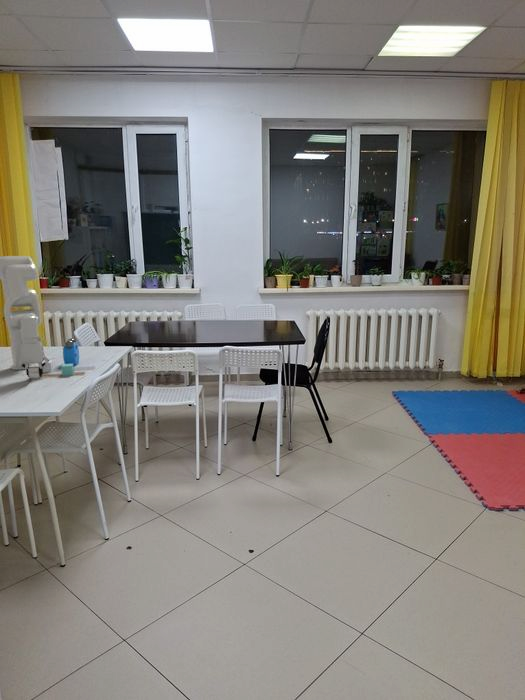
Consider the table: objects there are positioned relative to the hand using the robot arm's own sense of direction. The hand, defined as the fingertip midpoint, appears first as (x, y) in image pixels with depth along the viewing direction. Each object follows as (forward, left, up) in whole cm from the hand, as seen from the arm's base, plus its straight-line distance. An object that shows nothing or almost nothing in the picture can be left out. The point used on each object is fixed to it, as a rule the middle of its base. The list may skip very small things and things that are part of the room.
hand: (35, 375), depth 233 cm
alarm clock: (-23, +15, -2) cm, 27 cm away
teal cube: (0, +15, -1) cm, 16 cm away
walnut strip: (0, +10, -2) cm, 11 cm away
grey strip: (-10, +15, -2) cm, 18 cm away
